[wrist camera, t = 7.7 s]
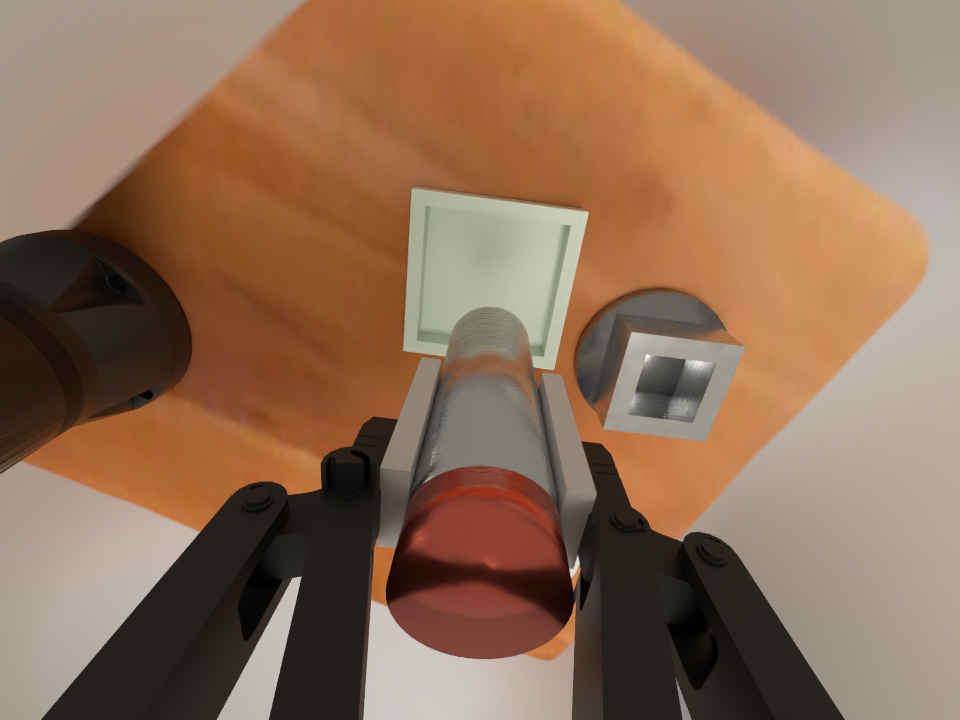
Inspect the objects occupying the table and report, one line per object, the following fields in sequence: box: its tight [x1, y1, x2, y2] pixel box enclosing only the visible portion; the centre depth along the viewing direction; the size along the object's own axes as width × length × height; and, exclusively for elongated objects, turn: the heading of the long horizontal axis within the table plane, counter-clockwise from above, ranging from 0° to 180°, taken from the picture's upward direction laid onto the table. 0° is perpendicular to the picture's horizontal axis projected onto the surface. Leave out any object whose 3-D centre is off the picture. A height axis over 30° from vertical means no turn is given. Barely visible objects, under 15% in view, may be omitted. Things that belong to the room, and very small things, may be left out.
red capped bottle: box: [386, 307, 574, 659], centre depth 15 cm, size 4×4×14 cm
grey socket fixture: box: [575, 288, 746, 442], centre depth 34 cm, size 12×12×6 cm
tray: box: [403, 186, 589, 370], centre depth 33 cm, size 12×12×2 cm
